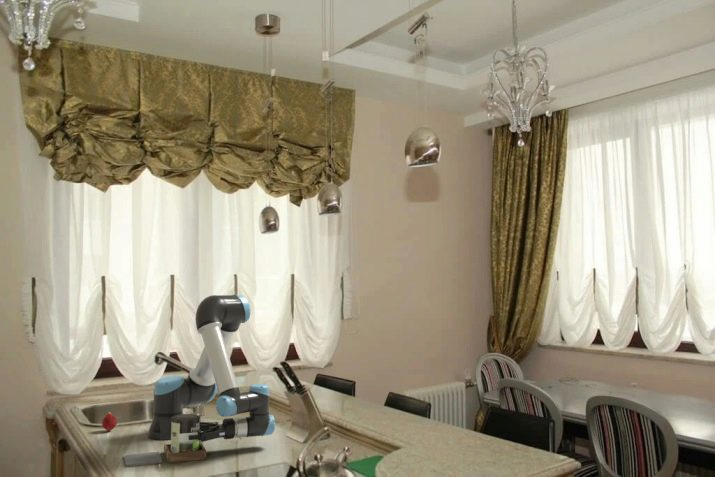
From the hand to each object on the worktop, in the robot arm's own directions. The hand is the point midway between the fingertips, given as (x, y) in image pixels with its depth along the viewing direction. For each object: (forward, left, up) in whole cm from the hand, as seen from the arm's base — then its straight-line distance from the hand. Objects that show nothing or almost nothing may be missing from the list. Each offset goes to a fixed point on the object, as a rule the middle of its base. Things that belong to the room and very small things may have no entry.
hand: (176, 433), depth 223 cm
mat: (0, -11, -8) cm, 14 cm away
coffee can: (0, +3, -9) cm, 9 cm away
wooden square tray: (0, +3, -8) cm, 9 cm away
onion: (-47, -21, -9) cm, 52 cm away
